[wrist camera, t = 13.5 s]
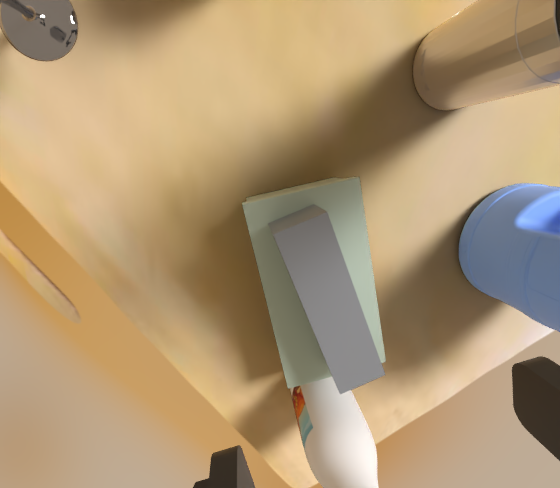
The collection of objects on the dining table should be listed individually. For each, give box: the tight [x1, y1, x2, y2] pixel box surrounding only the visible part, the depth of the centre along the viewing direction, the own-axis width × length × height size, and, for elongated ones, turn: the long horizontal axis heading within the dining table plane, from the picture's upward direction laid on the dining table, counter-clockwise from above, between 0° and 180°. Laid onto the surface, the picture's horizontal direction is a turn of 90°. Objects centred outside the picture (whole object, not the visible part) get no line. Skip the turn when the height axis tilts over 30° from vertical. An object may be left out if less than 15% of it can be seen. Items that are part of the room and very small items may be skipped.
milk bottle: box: [290, 377, 379, 488], centre depth 36 cm, size 8×8×20 cm
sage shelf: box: [242, 176, 386, 389], centre depth 38 cm, size 12×22×7 cm, turn 12°
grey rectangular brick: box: [268, 204, 385, 394], centre depth 32 cm, size 5×18×5 cm, turn 22°
